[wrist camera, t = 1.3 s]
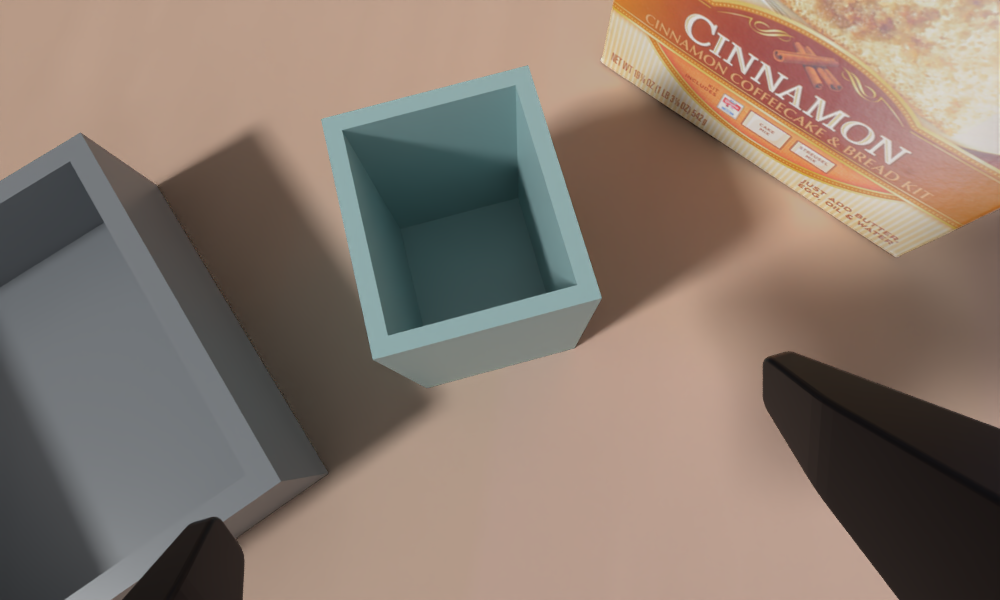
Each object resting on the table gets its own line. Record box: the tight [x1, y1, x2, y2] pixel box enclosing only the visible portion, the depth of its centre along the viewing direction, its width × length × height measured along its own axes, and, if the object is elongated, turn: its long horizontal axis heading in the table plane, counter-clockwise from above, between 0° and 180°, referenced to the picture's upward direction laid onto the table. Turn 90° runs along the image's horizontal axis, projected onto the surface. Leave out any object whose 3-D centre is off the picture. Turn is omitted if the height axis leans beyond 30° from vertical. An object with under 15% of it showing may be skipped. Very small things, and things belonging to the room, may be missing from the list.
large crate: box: [0, 133, 328, 600], centre depth 21 cm, size 15×13×4 cm
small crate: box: [321, 66, 602, 388], centre depth 20 cm, size 7×6×8 cm
